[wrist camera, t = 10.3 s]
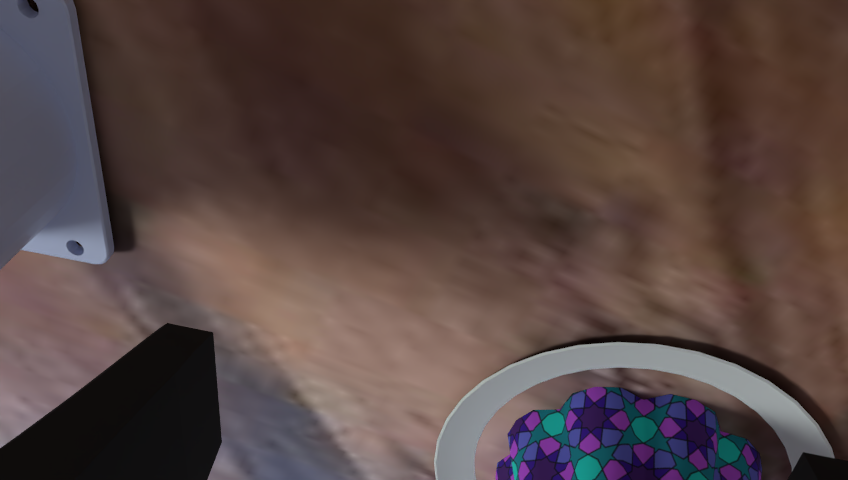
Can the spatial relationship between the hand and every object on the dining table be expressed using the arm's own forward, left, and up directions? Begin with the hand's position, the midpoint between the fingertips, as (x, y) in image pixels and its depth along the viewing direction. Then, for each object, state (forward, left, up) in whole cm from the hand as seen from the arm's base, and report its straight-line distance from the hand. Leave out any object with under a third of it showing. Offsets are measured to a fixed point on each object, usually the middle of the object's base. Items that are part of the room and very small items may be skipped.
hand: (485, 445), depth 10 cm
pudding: (+5, -12, -11) cm, 17 cm away
